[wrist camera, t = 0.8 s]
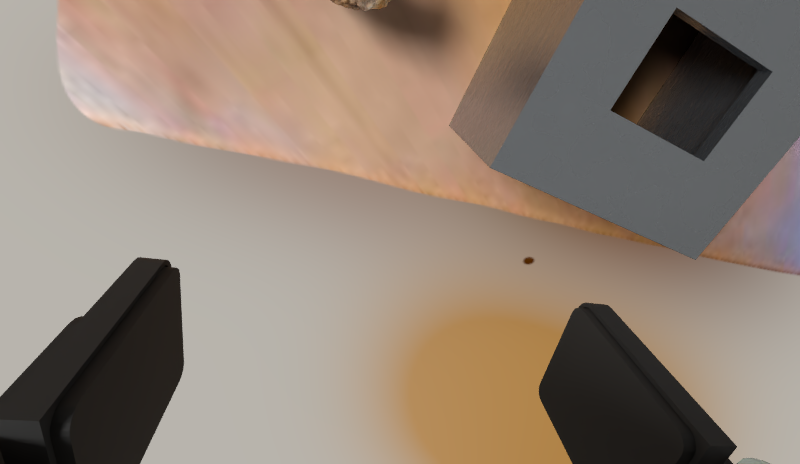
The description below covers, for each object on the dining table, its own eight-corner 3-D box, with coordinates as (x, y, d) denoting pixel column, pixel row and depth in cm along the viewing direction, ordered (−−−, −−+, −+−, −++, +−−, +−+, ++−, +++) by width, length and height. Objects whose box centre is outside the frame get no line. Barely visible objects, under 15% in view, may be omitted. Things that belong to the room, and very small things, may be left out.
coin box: (565, -107, 30) (685, -179, 19) (736, 13, 35) (907, 9, 24) (449, 125, 36) (489, 167, 26) (606, 198, 41) (695, 259, 31)
